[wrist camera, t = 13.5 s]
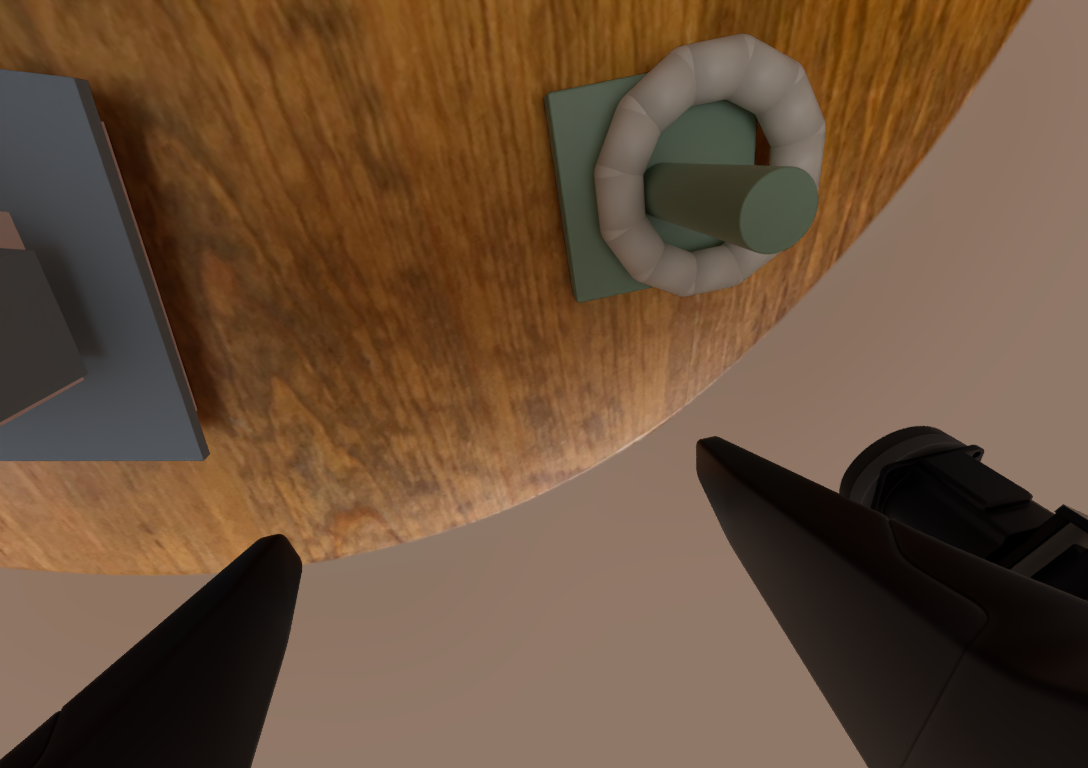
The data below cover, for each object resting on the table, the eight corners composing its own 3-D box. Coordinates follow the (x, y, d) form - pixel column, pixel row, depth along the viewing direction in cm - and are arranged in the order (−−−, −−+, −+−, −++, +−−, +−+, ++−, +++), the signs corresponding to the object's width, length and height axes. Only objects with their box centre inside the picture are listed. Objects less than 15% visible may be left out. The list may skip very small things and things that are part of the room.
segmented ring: (791, 265, 20) (818, 274, 18) (604, 305, 19) (614, 318, 18) (816, 22, 15) (854, 7, 14) (577, 70, 15) (588, 60, 14)
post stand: (735, 261, 20) (899, 329, 12) (572, 296, 20) (631, 388, 12) (744, 56, 17) (990, -40, 8) (542, 96, 16) (600, 38, 8)
